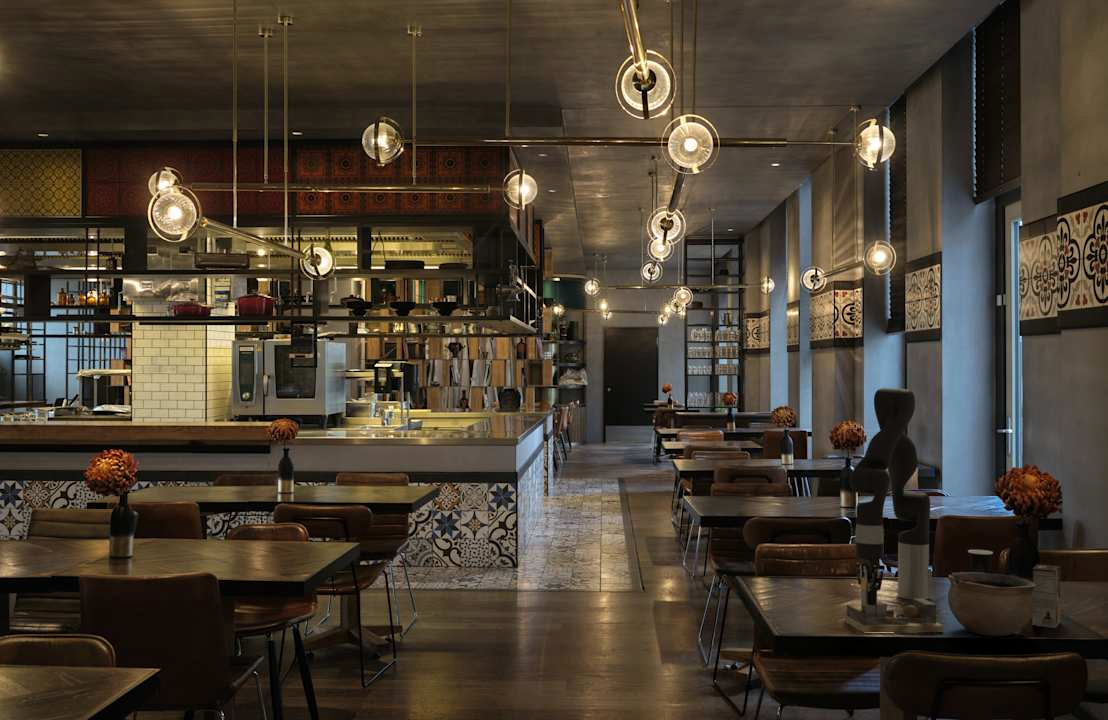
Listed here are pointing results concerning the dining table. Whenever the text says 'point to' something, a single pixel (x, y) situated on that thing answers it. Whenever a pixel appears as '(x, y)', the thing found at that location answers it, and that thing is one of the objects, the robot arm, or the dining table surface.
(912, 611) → the walnut
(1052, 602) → the coffee box
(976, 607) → the ceramic bowl
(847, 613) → the base
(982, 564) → the dixie cup
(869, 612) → the lever
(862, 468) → the robot arm
